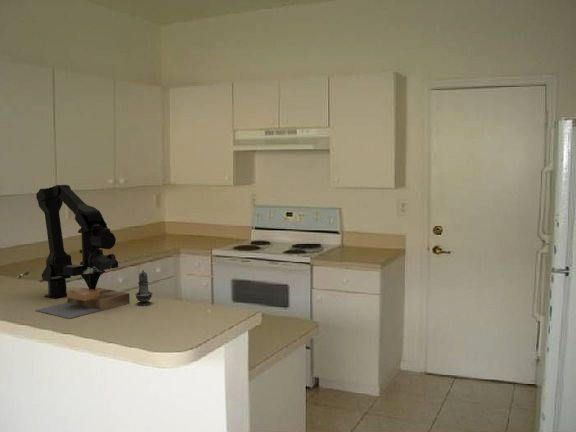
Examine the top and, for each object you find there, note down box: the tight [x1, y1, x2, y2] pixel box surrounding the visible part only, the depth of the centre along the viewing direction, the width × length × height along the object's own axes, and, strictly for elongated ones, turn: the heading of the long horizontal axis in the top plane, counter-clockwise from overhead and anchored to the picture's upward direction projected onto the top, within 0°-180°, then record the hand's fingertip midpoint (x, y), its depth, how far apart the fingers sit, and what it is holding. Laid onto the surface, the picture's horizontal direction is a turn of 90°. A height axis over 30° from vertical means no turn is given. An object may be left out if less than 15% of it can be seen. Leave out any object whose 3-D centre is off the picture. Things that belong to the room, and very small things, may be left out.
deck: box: [66, 286, 131, 312], centre depth 201 cm, size 18×12×4 cm, turn 56°
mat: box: [35, 302, 102, 320], centre depth 191 cm, size 18×12×1 cm, turn 56°
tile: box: [66, 287, 100, 301], centre depth 195 cm, size 9×6×2 cm, turn 57°
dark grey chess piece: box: [134, 269, 153, 307], centre depth 199 cm, size 6×6×12 cm
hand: (92, 291), depth 199 cm, fingers closed
